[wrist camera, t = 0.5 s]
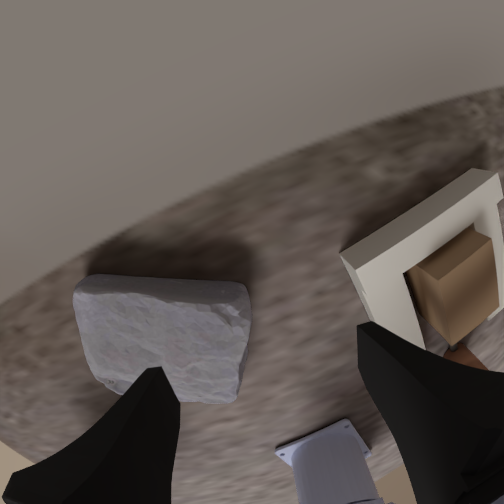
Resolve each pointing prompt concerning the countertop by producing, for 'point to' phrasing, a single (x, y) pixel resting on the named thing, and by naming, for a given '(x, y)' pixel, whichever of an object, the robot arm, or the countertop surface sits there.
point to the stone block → (165, 332)
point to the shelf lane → (423, 248)
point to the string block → (457, 290)
